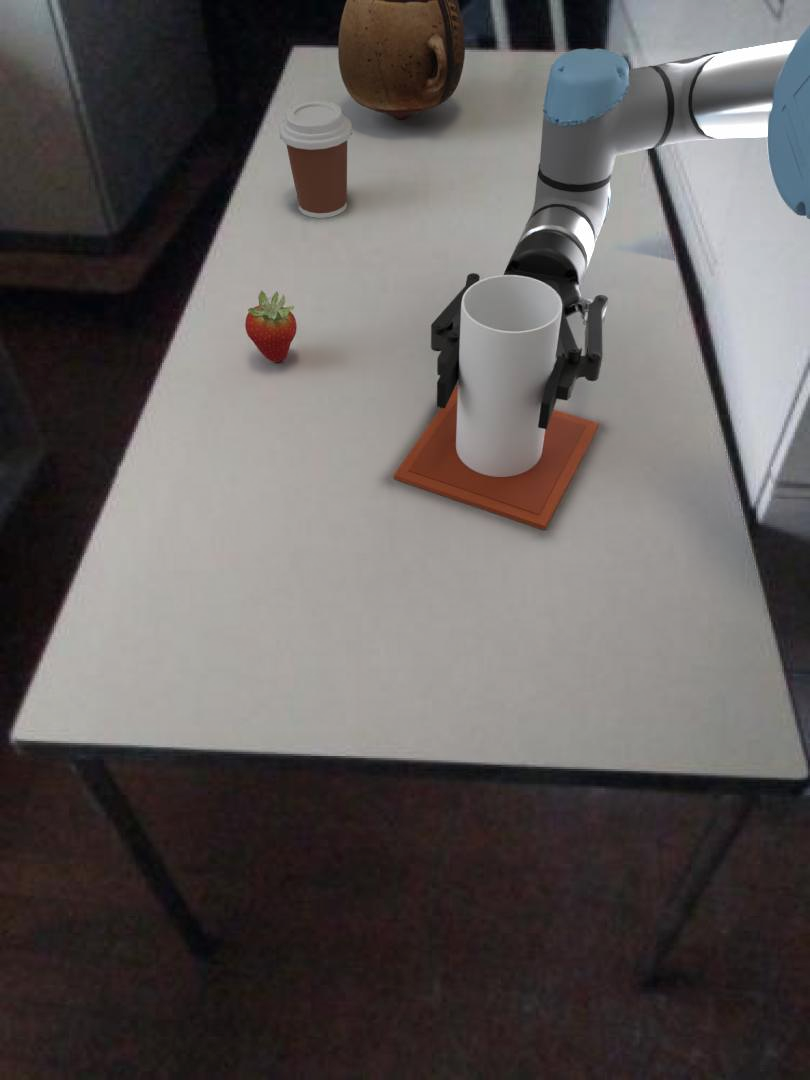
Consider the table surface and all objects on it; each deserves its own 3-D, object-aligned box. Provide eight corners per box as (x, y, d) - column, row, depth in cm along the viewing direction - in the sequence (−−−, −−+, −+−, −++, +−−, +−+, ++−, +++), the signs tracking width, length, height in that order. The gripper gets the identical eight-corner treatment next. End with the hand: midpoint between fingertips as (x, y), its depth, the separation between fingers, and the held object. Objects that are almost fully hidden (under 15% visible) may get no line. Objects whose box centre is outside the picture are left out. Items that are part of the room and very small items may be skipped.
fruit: (292, 379, 90) (282, 314, 84) (244, 372, 91) (231, 308, 85) (307, 350, 93) (299, 285, 87) (260, 343, 94) (249, 279, 88)
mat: (598, 427, 84) (599, 422, 84) (545, 530, 75) (546, 525, 75) (458, 386, 89) (459, 380, 88) (393, 479, 80) (393, 473, 79)
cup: (497, 490, 78) (510, 346, 66) (438, 443, 82) (440, 299, 70) (560, 449, 81) (583, 305, 69) (500, 406, 85) (512, 263, 73)
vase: (330, 98, 135) (311, -139, 113) (439, 83, 138) (442, -151, 115) (361, 158, 122) (347, -97, 99) (482, 141, 125) (495, -112, 102)
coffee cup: (361, 189, 116) (356, 97, 107) (352, 224, 110) (345, 130, 101) (295, 187, 117) (284, 96, 107) (282, 222, 111) (269, 128, 102)
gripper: (647, 313, 86) (609, 463, 72) (447, 279, 91) (376, 415, 77) (663, 245, 81) (625, 395, 67) (449, 213, 85) (372, 346, 71)
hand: (492, 405), depth 72 cm, fingers closed on cup, 8 cm apart
